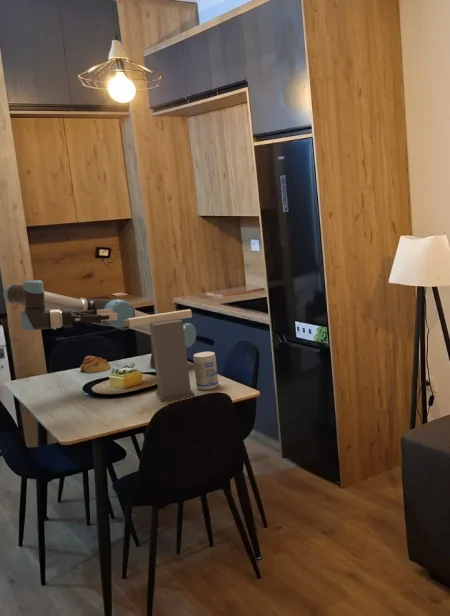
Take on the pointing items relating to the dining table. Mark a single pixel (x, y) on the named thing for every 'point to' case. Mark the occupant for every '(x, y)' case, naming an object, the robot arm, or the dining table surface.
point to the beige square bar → (158, 318)
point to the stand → (170, 360)
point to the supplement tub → (205, 370)
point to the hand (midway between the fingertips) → (115, 314)
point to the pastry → (94, 365)
